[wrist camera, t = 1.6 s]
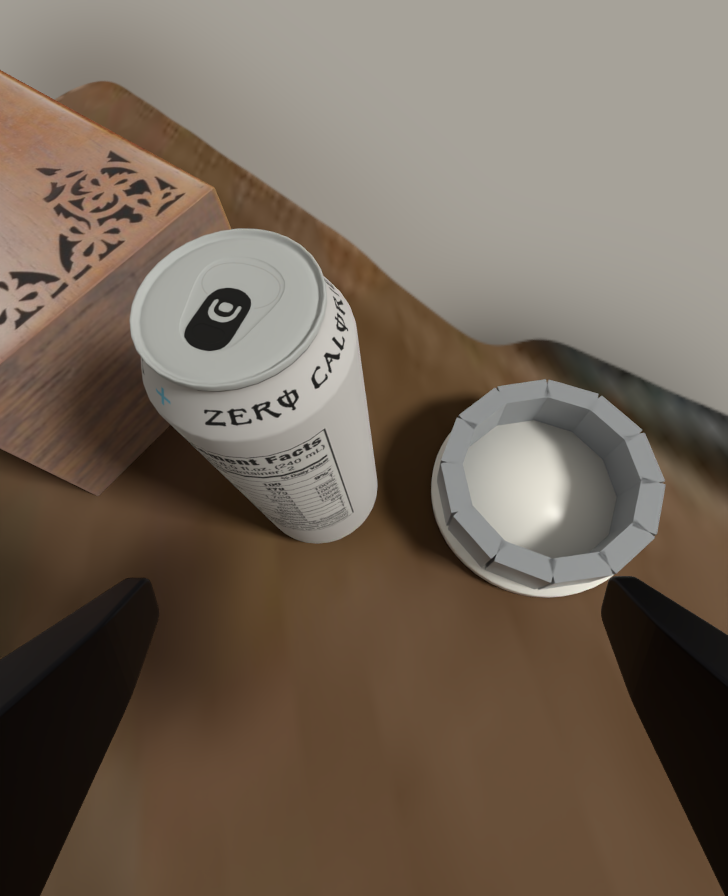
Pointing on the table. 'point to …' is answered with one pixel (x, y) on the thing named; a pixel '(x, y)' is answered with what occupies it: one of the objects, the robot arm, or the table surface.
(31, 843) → the robot arm
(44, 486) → the table surface
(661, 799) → the table surface
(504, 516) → the dock
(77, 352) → the tissue box cover
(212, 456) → the energy drink can
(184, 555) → the table surface
